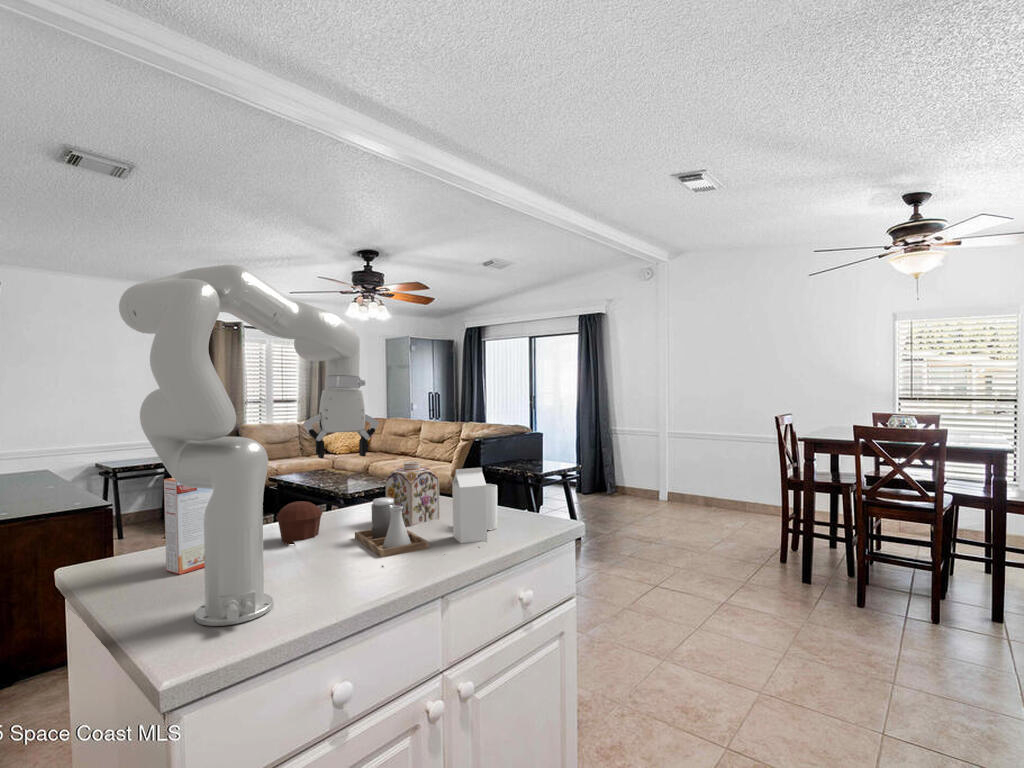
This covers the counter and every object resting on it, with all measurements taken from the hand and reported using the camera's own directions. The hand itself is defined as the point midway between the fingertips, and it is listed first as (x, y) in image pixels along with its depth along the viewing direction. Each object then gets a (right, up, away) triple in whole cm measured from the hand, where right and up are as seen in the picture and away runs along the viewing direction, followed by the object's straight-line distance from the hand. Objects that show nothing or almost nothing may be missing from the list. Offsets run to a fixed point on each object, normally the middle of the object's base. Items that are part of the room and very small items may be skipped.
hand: (342, 456), depth 128 cm
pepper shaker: (+7, -23, +13) cm, 27 cm away
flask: (+12, -23, +5) cm, 26 cm away
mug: (+32, -24, +27) cm, 48 cm away
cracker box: (-32, -25, -2) cm, 40 cm away
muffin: (-17, -25, +17) cm, 34 cm away
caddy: (+9, -24, +9) cm, 27 cm away
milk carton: (+29, -24, +12) cm, 40 cm away
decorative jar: (+11, -24, +34) cm, 43 cm away
